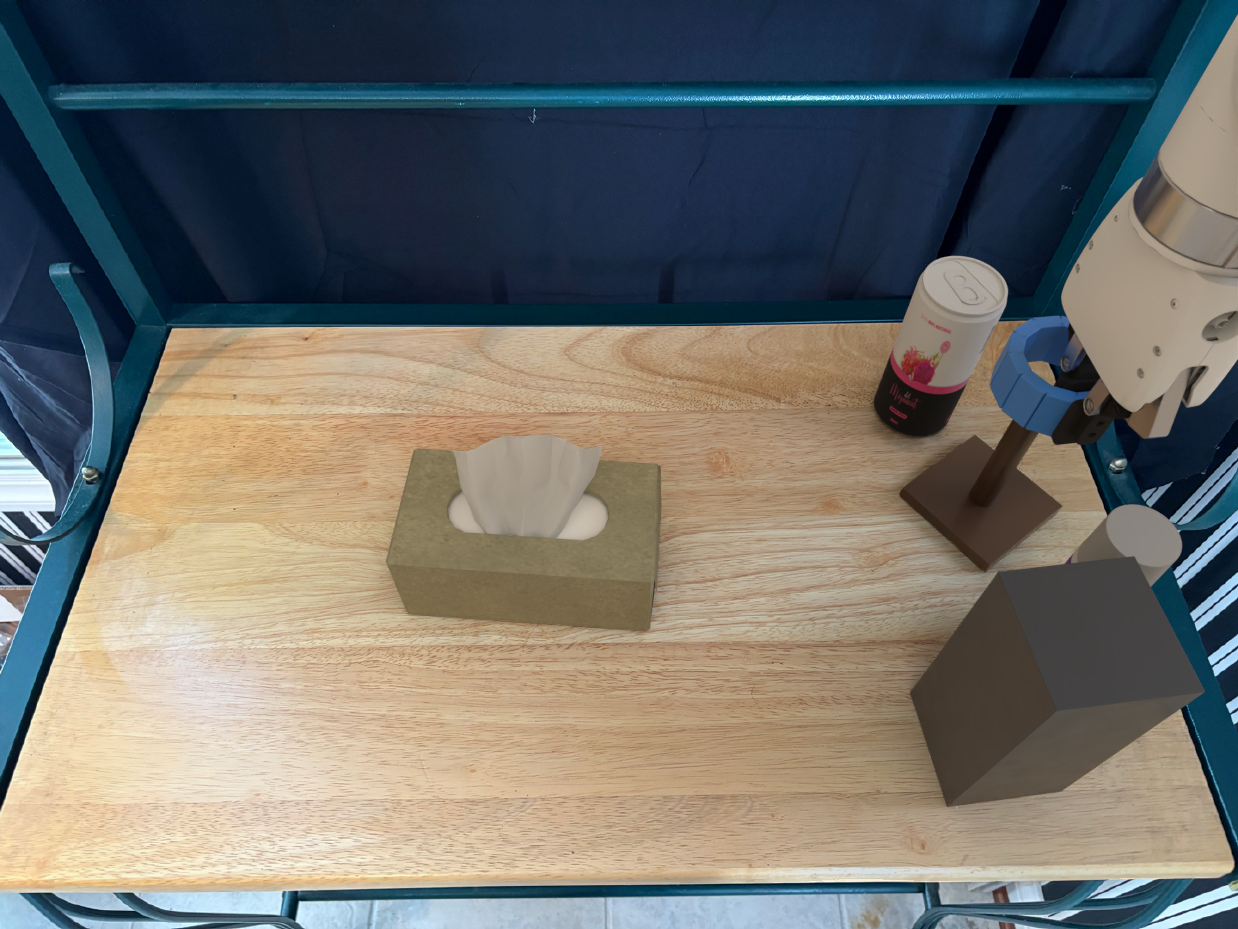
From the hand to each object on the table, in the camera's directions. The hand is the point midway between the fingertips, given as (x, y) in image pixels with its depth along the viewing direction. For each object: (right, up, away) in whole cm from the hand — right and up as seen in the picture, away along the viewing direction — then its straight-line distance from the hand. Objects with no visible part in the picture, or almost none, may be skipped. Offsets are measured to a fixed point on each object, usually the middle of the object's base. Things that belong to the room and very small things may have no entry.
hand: (1067, 425), depth 60 cm
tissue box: (-36, -11, +10) cm, 39 cm away
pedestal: (-5, -22, +3) cm, 22 cm away
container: (+2, -16, +7) cm, 17 cm away
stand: (-1, -6, +14) cm, 15 cm away
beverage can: (-4, +2, +20) cm, 20 cm away
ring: (0, +2, +2) cm, 3 cm away
